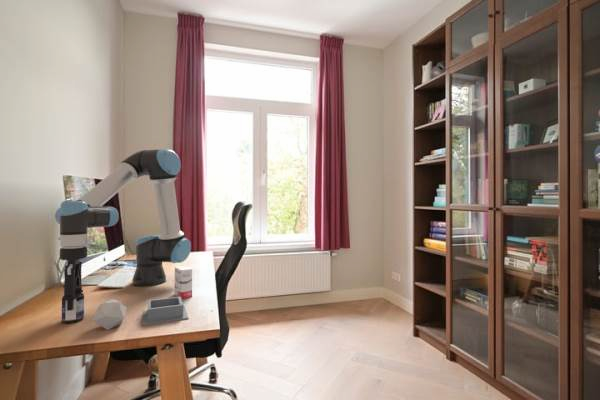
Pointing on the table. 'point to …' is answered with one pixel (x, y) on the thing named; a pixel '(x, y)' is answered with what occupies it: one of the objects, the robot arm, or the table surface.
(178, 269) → the ink box
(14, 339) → the table surface
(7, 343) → the table surface
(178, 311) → the well
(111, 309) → the die
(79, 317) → the pill bottle
